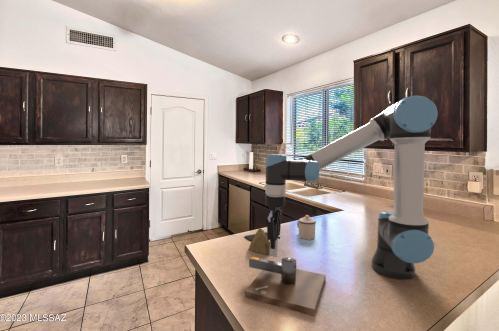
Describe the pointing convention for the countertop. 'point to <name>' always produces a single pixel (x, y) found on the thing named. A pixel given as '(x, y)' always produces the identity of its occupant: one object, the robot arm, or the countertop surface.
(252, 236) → the phone
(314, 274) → the base board
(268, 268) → the grey mallet
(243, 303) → the countertop surface
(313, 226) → the cream lidded jar
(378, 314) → the countertop surface
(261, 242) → the rock
